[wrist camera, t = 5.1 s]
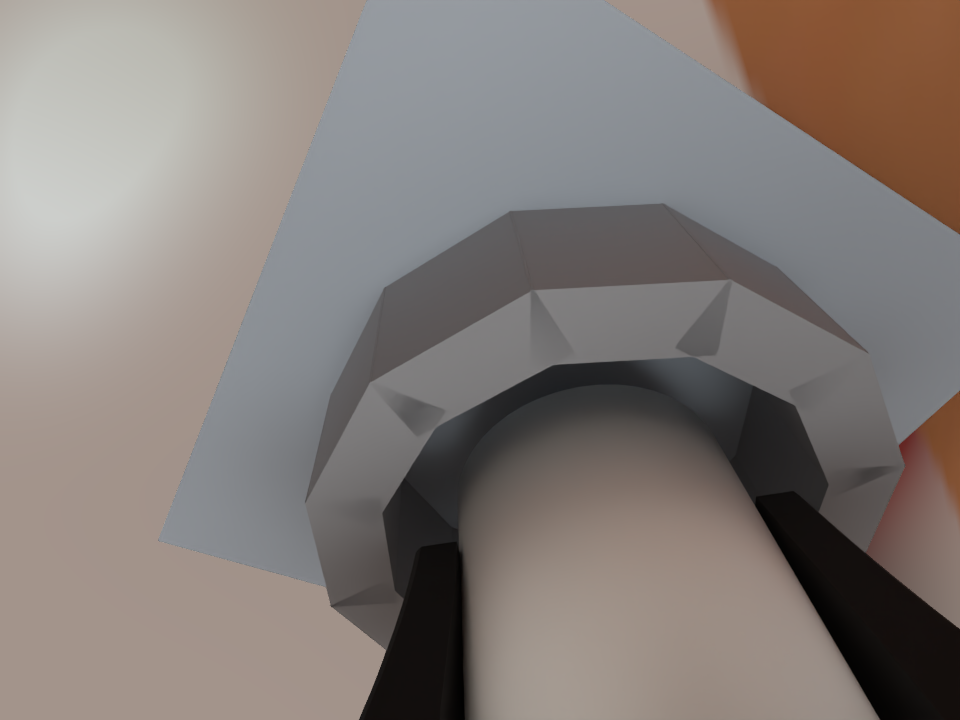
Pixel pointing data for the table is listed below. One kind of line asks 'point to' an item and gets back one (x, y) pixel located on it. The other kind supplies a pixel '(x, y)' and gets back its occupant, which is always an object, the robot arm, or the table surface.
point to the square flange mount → (555, 291)
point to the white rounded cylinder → (630, 575)
